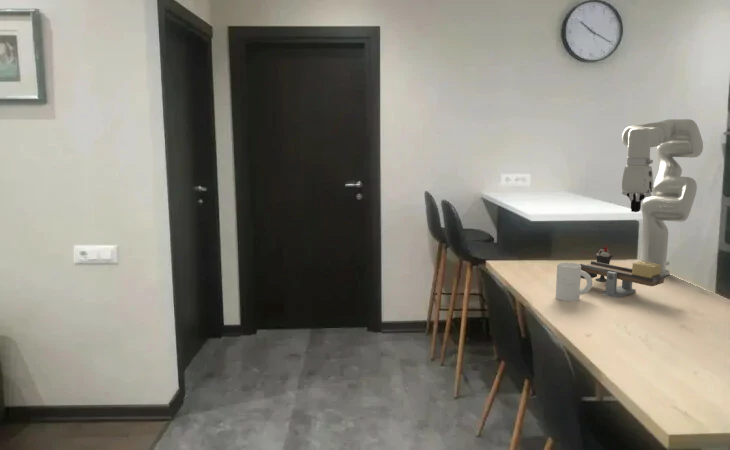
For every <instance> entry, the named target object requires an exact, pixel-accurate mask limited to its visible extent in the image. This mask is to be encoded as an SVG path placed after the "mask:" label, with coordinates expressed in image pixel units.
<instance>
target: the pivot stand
mask: <svg viewBox="0 0 730 450" xmlns="http://www.w3.org/2000/svg"><path fill="white" fill-rule="evenodd" d="M623 267H624V268H629V269H632V267H626V266H623ZM606 279H607V281H606V282H605V283H606V285H605V290H603V291H601V295H603V296H608V297H613V298H617V299H618V298H621V297H622V298H623V297H626V296H628V295H630V294H633V293H636V290H637V289H635V288H633V282H629V281H625V280H622V281H621V285H619V286H617V285H618V283H617V281H618V279H617V273H615V272H610V271H609V272H607V276H606Z"/></svg>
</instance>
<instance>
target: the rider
mask: <svg viewBox="0 0 730 450" xmlns="http://www.w3.org/2000/svg"><path fill="white" fill-rule="evenodd" d="M631 268H632V275H636V276H641V277H646V278H650V279H652V277H655V276H658V275H660V273H661V265H660V264H655V263H650V262H645V261H641V260H640V261H637V262H632V267H631Z"/></svg>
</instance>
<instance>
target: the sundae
mask: <svg viewBox="0 0 730 450" xmlns="http://www.w3.org/2000/svg"><path fill="white" fill-rule="evenodd" d="M608 245H609V243H607V244H606V246H604V247H601V248H599V249H598V252H597V253H594V257H596V262H600V263H605V264H609V265H610V262H611V259H612V258H613V257H614V255H612V254H610V251H609V249H608ZM605 277H606V276H602V275H599V277H598V278H597V277H596V278H595V281H597V282H602V283H606V281H607V278H605Z"/></svg>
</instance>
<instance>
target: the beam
mask: <svg viewBox="0 0 730 450" xmlns="http://www.w3.org/2000/svg"><path fill="white" fill-rule="evenodd" d="M579 265H581V270H582V271H585V272H587V273H588V274H589V275H590V276H591V278H592V279H594V278H597V277H598V275H599V276H601V275H602V276H604V277H607V272H609V271H610V272H615V273H617V280H625V281H629V282H632V283H634V284H638V285H642V286H643V285H644V286H649V287H655V286H658V285H661V284H664V283H665V276H664V275H663V274H661V275H658V276H655V277H652V279H650V278H646V277H641V276H636V275H632V269H629V268H630V267H628V268H624V267H625V266H623V267H622V266H619V265H614V264H610V263H609V264H605V263H600V262H597V261H593V260H590V263H589V264H585V263H584V264H583V263H579ZM581 279H583V280H586V279H585V278H584V277H583V276H581Z"/></svg>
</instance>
